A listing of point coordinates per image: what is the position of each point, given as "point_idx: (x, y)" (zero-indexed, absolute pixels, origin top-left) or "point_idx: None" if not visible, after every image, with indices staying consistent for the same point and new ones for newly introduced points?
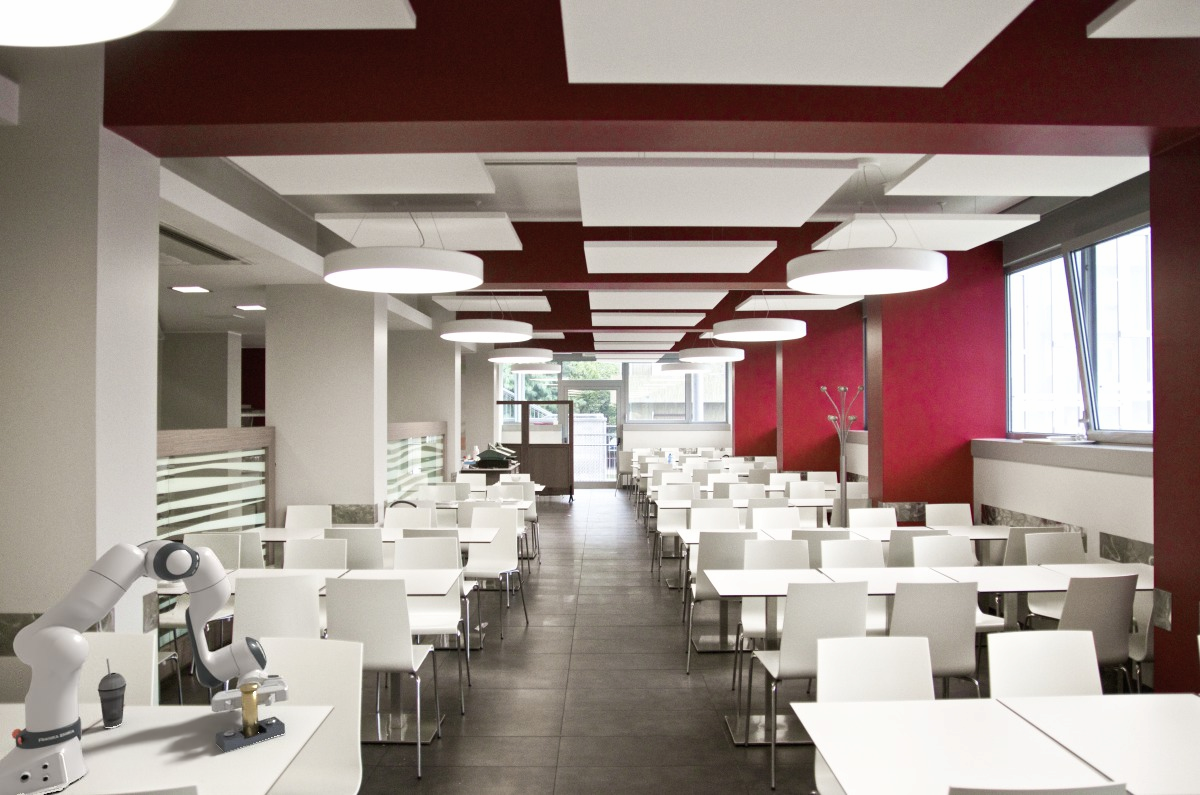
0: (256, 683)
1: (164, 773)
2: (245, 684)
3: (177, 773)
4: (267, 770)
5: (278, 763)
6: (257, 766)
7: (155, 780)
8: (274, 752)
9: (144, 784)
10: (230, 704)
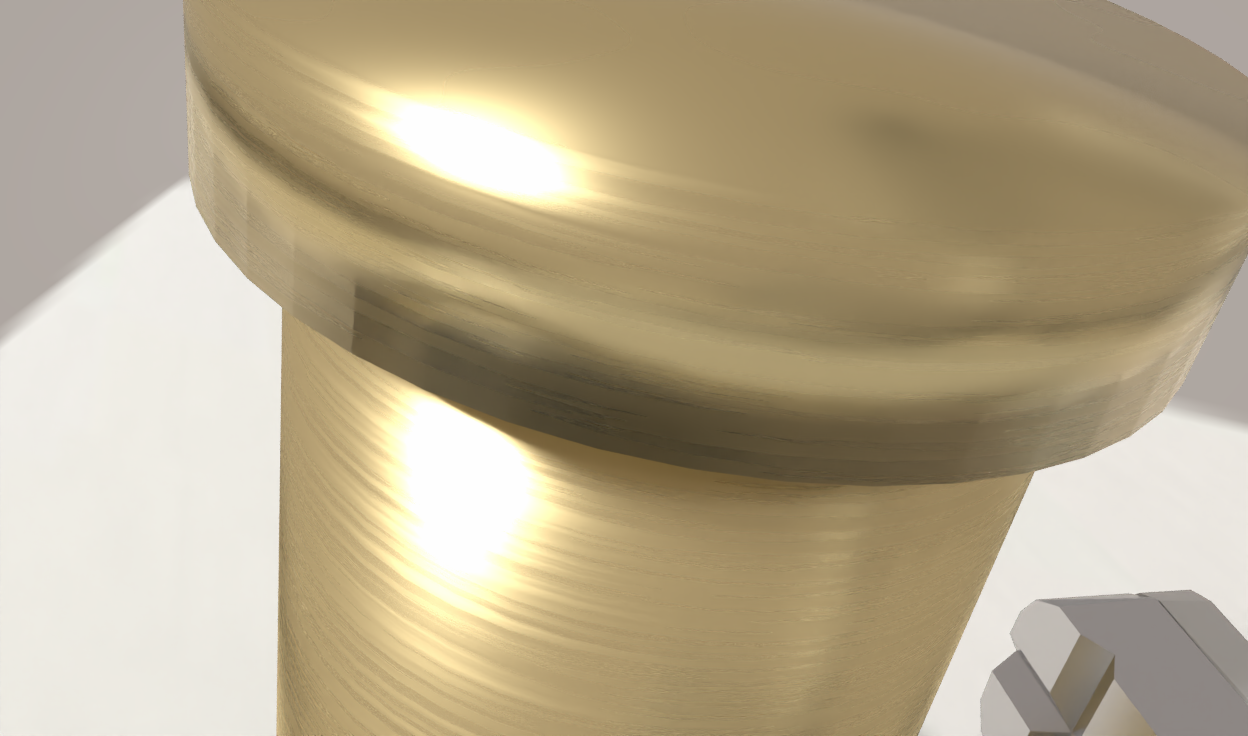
0: (326, 4)
1: (1175, 525)
2: (1111, 126)
3: (1035, 488)
4: (162, 289)
5: (34, 350)
6: (258, 368)
7: (1145, 443)
8: (27, 579)
9: (1184, 418)
10: (1233, 685)
